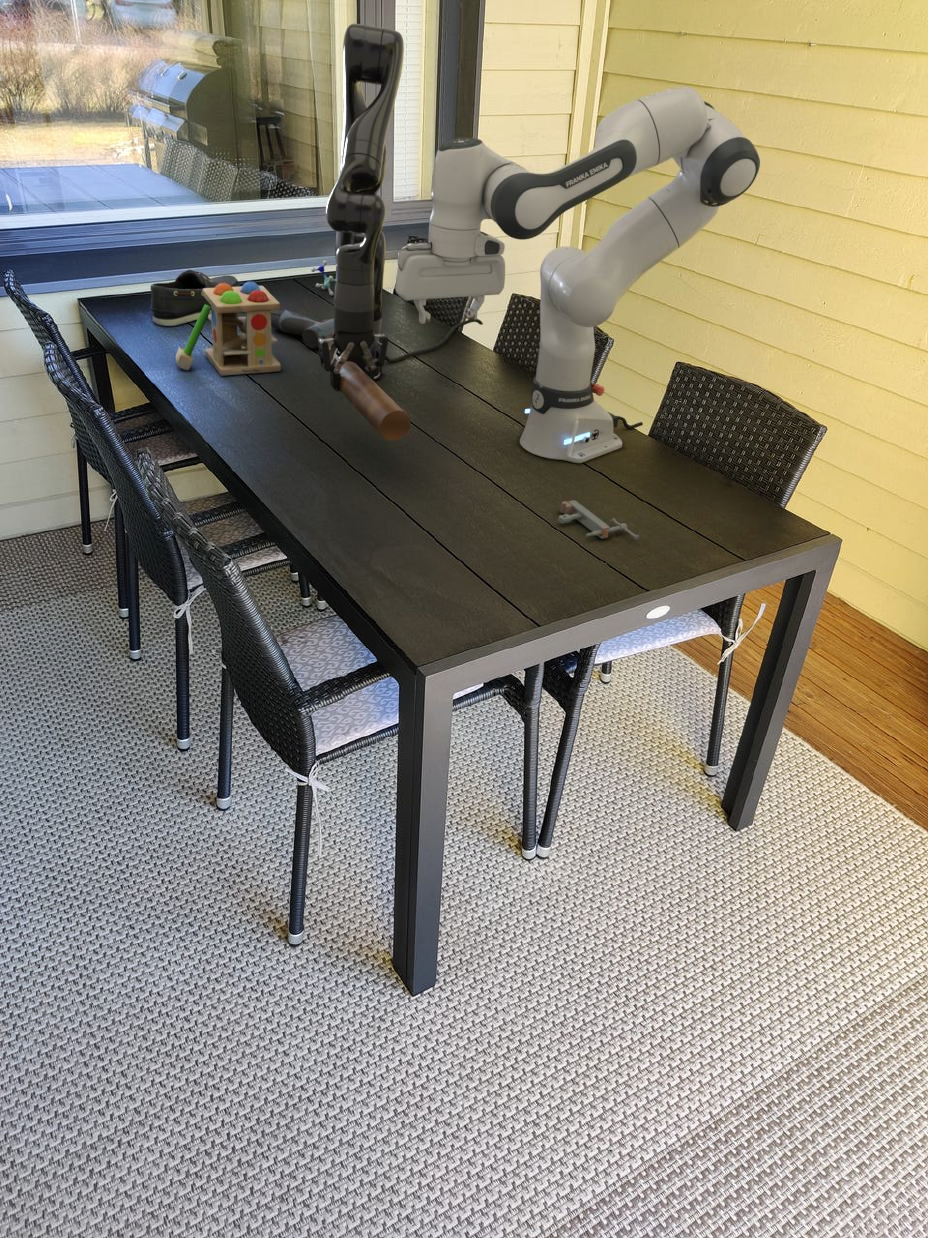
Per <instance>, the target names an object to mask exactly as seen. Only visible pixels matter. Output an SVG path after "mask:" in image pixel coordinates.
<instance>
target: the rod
mask: <svg viewBox="0 0 928 1238" xmlns="http://www.w3.org/2000/svg"><path fill="white" fill-rule="evenodd" d="M339 373H340V391H339V392H340V393H341V394H342V395H343V396H344V397H345V398H346V399H347V400H348V401H349V403H351V405H352V406H353V407H354V408H355V409H356V410H357V411H358V412H359V413H360V414H361V415H362V416H363V417H364V418H365V420H366V421H367V422H368V423H370V426H372V427H373V428H374V429H375V430H376V431H377V432H378V434H380V435H381V436H382V437H383V439H385V440H386V441H388V442H397V441H399V440H402V439H403V438H404V437H405V436H407V434H408V433H409V431H410V428H411V418H410V415H409V414H408V413H407V412H406V411H405V410H404V409H403V408H402V407H401V406H399V404H398V403H397V402H395V400H393V398H391V396H389V394H388V393H386V392H385V390H383V389H382V388H381V387H380V386H379V384H377V383H376V381H373V380H372V379H371V378H370V377H369V376H368V375H367V374H366V373H365V372H364V371H363V370H362V369H361V368H359V367H358V366H357V365H356V364H355V363H353V362H350V361H346V362H345V364H343V365H342V368H341V370H340V372H339Z"/></svg>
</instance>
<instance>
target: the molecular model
mask: <svg viewBox="0 0 928 1238" xmlns="http://www.w3.org/2000/svg"><path fill="white" fill-rule="evenodd" d="M327 265H328V261H327V260H323V261H322V265H319V266H318V267H316V268H315V267H311V268H310V271H311V272H312V273H314V272H317V271H318V272H319V273H321V274H322V275H323V277H324V283H318V282H317V283H315V287H316V288H317V289H319V288H320V287H321V289H322V290H323V291H324V290H326V289H327V290H328V293H329V296H331V297H332V296H334V292H333V291H332V289H331V283H333V282H336V278H334V276H333V275H329V277H327V275H326V273H325V266H327Z"/></svg>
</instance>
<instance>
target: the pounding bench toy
mask: <svg viewBox="0 0 928 1238" xmlns="http://www.w3.org/2000/svg"><path fill="white" fill-rule="evenodd" d="M203 296H204V297H205V299H206V300H207V301H208V302H209V304H210V305H211V307H210V306H208V305H204V307H203V309H202V311H201V314H200V316H199V318H198V319H197V320H196V322H195V324H194V327H193V329H192V331H191V332H190V333H191V334H190V336H189V338H188V340H187V343H186V344H185V347H184V348H182V347H180V346H179V347H178V349H177V351H176V354H175V357H174V358H175V362H176V365H177V366H178V368H179V369H182V370H185V371H189V370H190V369H191V367H192V365H193V363H194V356H193V351H194V348H195V347H196V345H197V342H198V340H199V337H200V336H201V333H202V332H203V329H204V326H205V325H206V322H207V320H209V321H210V322H211V336H212V337H211V338H212V339H211V340H212V348H205V349H204V352H205V353H204V355H205V357H206V359H208V361H209V363H210V364H211V365H212V366H213V367H214V369H215V370H216V371H217V372H218V374H219V375H220V376H222V377H223V376H234V375H235V376H236V375H246V374H247V375H250V374H262V373H275V372H281V370H282V364H281V363H280V362H279V360H278V359H277V358H276V357H275V356H274V355H273V348H272V347H273V345H272V344H276V343H278V342H279V341H278V339H277V338H276V337H275V336H274V334H272V327H271V310H280V309H281V304H280V301H278V300H277V299H276V297H274V296H273V295H272V294H271V293H270V292H269V290H268V289H267V288H266V287H264V285H259V284H257V283H256V282H255V281H247V282H245V283H244V284H243V285H242V286H240V287H231V286H230V285H228V284H226V283H221V284H218V285H217V286H216V287H215V288H204V289H203ZM210 310H211V313H209V312H210ZM238 313H244V314H245V315H244V316H238ZM238 329H239V331H240V333H239V334H238Z"/></svg>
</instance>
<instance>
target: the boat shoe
mask: <svg viewBox="0 0 928 1238" xmlns="http://www.w3.org/2000/svg"><path fill="white" fill-rule="evenodd" d="M221 283H226V284H228V285H230V286H231V287H241V284H240V282H239V280H238V279H237V277H235V276H234V275H222V276H221V275H220V276H216V277H212V278H210V277H209V276H207V275H206V274H205V273H203V272H201V271H197V270H192V269H187V270H185V271H183V272H181V273H179V275H178V276H177V277H176V279H175V280H174V281H170V282H169V281H168V282H156V283H151V284H150V293H151V294H150V295H151V303H150V304H151V306H150V307H149V309H150V311H152V322H153V323H154V324H157V325H158V326H159V325H160V326H164V327H172V326H178V325H182V324H186V323H189V322H193V321H197V320H198V318H199V316H200V314H201V311H202V309H203V307H204V305H208V306H210V307H211V305H210V304H209V302H208V301H207V300H206V299H205V297H204V296H203V289H204V288H215V287H216V286H217V285H218V284H221ZM209 314H211V310H210V312H209Z"/></svg>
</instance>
